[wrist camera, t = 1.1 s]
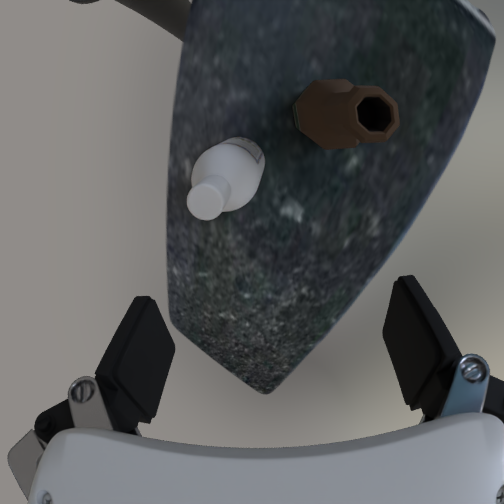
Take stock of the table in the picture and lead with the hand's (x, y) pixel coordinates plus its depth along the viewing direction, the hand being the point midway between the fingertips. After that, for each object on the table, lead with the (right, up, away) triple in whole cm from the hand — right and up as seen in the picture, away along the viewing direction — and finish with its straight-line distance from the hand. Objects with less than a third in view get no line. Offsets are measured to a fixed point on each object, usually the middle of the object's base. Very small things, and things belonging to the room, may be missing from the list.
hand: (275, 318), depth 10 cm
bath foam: (-2, +16, +27) cm, 32 cm away
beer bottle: (+8, +22, +23) cm, 33 cm away
